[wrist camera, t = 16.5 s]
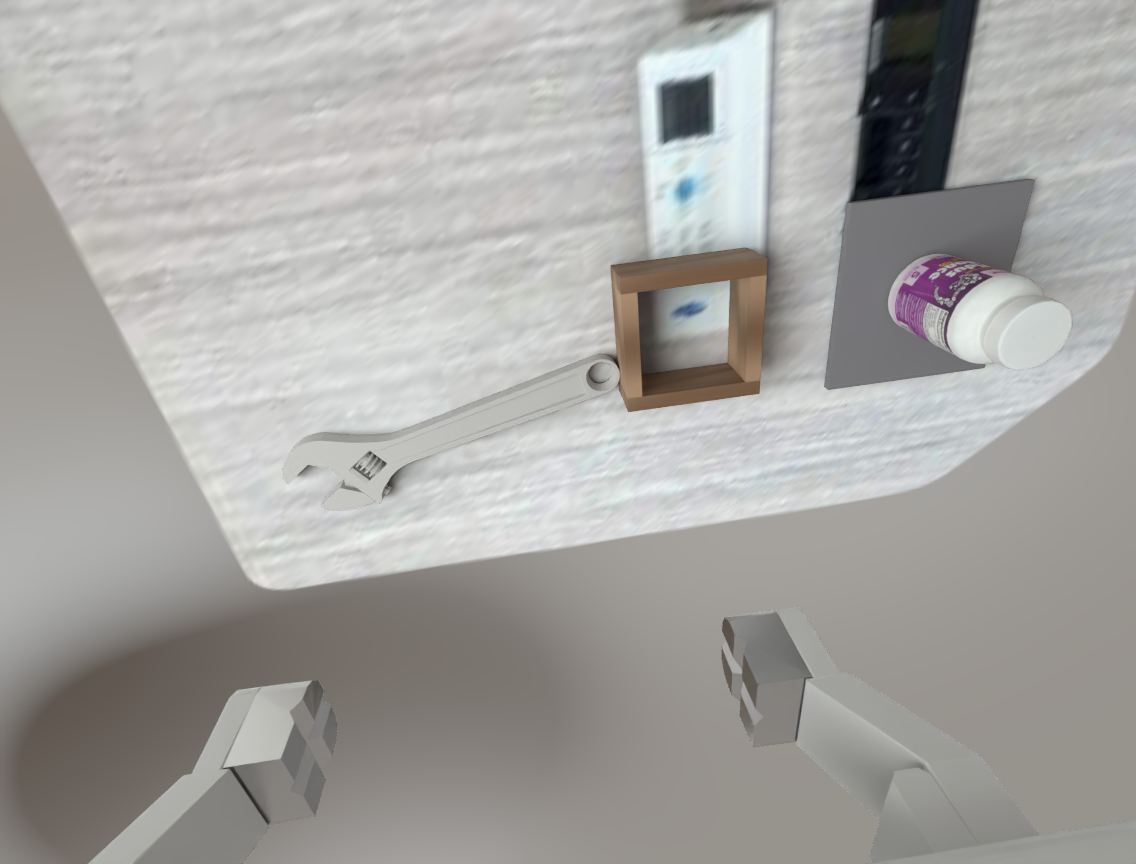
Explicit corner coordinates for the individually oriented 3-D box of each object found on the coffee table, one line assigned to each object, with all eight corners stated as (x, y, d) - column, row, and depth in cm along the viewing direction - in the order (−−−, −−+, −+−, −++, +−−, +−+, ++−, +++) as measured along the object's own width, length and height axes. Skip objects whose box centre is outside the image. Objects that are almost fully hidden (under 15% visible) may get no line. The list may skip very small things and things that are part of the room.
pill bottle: (956, 237, 37) (1088, 269, 29) (964, 307, 40) (1088, 356, 31) (877, 274, 38) (983, 315, 29) (890, 341, 40) (991, 397, 32)
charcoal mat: (846, 202, 36) (851, 203, 36) (1027, 178, 36) (1035, 179, 36) (824, 386, 42) (828, 389, 42) (978, 364, 43) (984, 367, 42)
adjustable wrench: (611, 344, 40) (615, 353, 38) (629, 421, 43) (634, 432, 41) (278, 442, 41) (269, 454, 39) (320, 510, 44) (313, 524, 42)
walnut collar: (610, 265, 37) (620, 278, 33) (746, 247, 37) (767, 258, 34) (619, 390, 41) (628, 411, 38) (740, 373, 41) (759, 393, 38)
